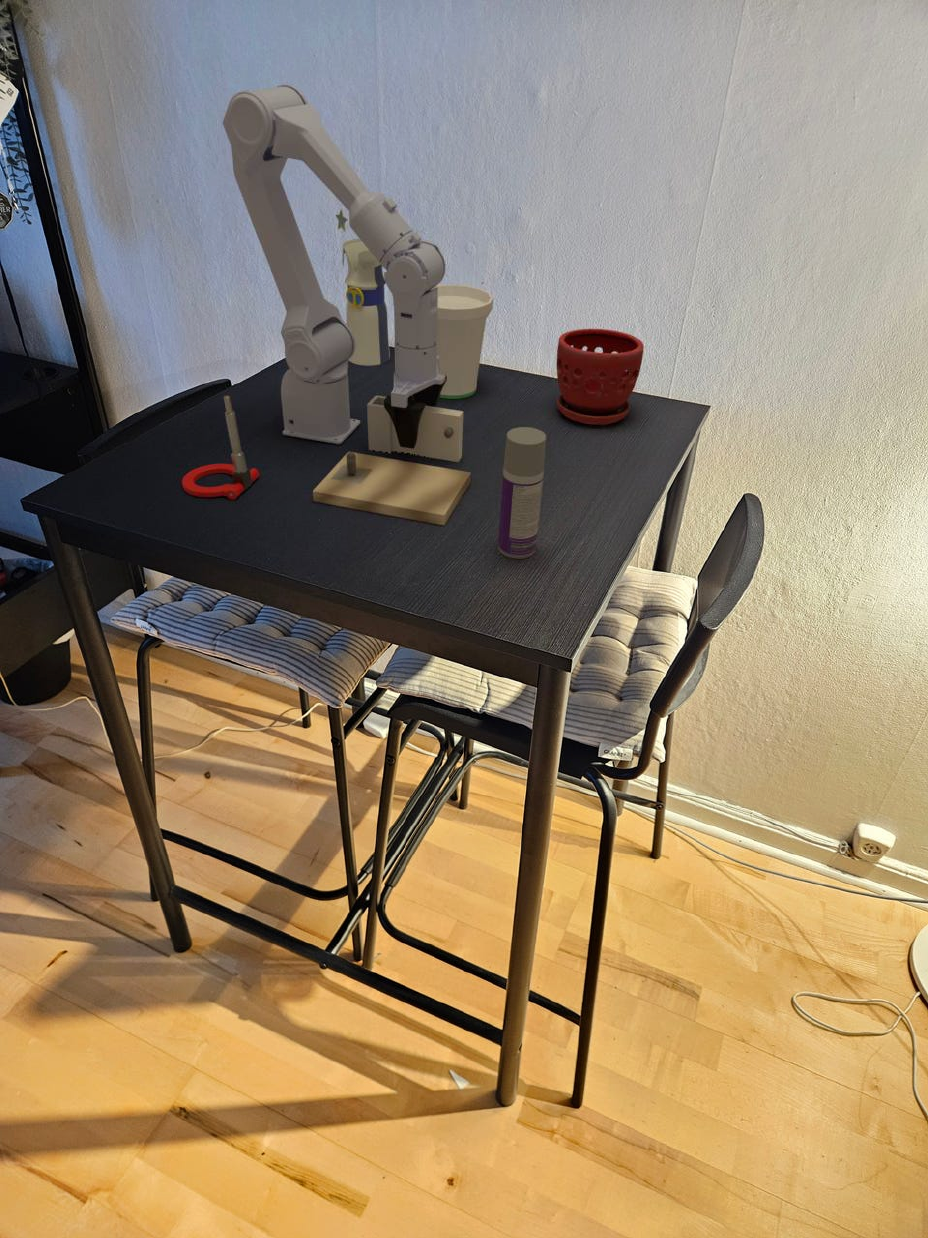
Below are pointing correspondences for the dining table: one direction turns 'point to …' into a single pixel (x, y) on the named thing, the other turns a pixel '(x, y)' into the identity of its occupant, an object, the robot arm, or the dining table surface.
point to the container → (521, 492)
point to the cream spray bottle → (365, 302)
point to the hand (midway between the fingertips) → (416, 435)
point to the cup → (461, 336)
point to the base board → (393, 488)
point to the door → (434, 432)
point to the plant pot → (597, 374)
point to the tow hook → (224, 467)
